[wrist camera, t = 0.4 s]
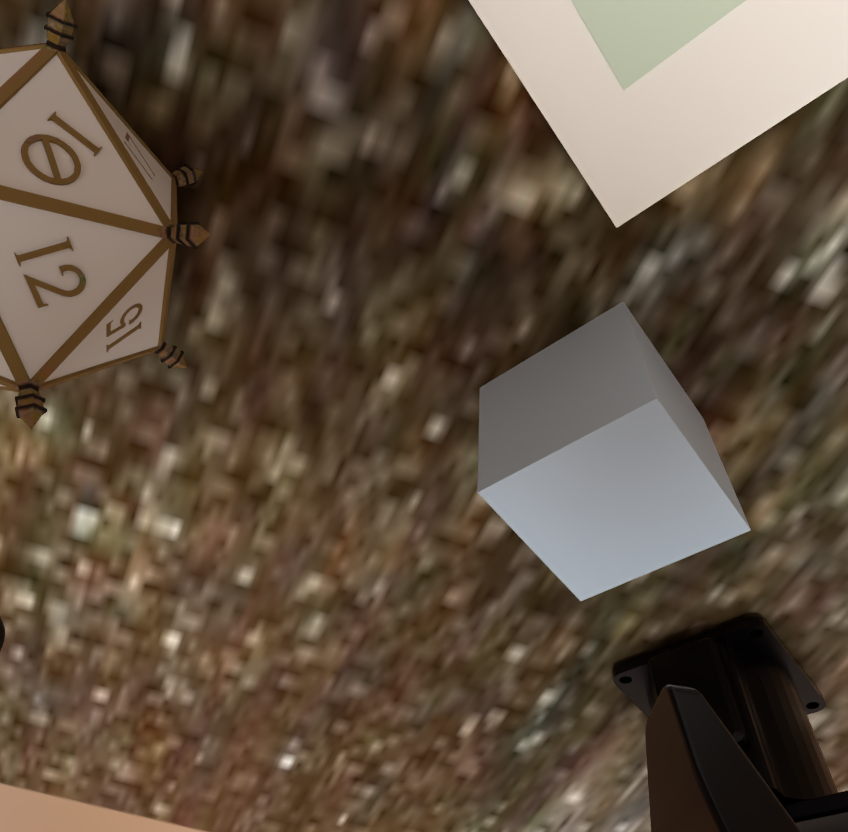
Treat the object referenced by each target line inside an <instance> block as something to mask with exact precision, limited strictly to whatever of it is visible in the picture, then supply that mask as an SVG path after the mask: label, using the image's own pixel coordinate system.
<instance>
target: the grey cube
mask: <svg viewBox="0 0 848 832" xmlns="http://www.w3.org/2000/svg"><path fill="white" fill-rule="evenodd" d="M478 494H479V495H480V496H481V497H482V498H483V499H484V500H485V501H486V502H487V503H488V504H489V505H490V506H491V507H492V508H493V509H494V510H495V512H496V513H497V514H498V515H499V516H500V517H501V518H502V519H503V520H504V521H505V522H506V523H507V524H508V525H509V526H510V527H511V528H512V529H513V530H514V532H515V533H516V534H517V535H518V536H519V537H520V538H521V539H522V540H523V541H524V542H525V543H526V544H527V545H528V546H529V547H530V548H531V549H532V551H533V552H534V553H535V554H536V555H537V556H538V557H539V558H540V559H541V560H542V561H543V562H544V563H545V564H546V565H547V566H548V567H549V568H550V569H551V571H552V572H553V573H554V574H555V575H556V576H557V577H558V578H559V579H560V580H561V581H562V582H563V583H564V584H565V585H566V586H567V587H568V588H569V590H570V591H571V592H572V593H573V594H574V595H575V596H576V597H577V598H578V599H579V600H580V601H583V600H585V599H587V598H590V597H592V596H595V595H597V594H599V593H602V592H604V591H607V590H609V589H611V588H614V587H616V586H619V585H621V584H623V583H626V582H628V581H631V580H633V579H635V578H638V577H640V576H642V575H645V574H647V573H650V572H652V571H654V570H657V569H659V568H662V567H664V566H666V565H669V564H671V563H674V562H676V561H678V560H681V559H683V558H686V557H688V556H690V555H693V554H695V553H698V552H700V551H702V550H705V549H707V548H710V547H712V546H714V545H717V544H719V543H722V542H724V541H726V540H729V539H731V538H734V537H736V536H738V535H741V534H743V533H746V532H748V531H750V530H751V529H750V527H749V524H748V522H747V520H746V517H745V515H744V513H743V510H742V508H741V506H740V503H739V501H738V499H737V496H736V494H735V492H734V489H733V487H732V485H731V482H730V480H729V478H728V475H727V473H726V471H725V468H724V466H723V464H722V461H721V459H720V456H719V454H718V452H717V449H716V447H715V445H714V442H713V440H712V438H711V435H710V433H709V431H708V428H707V426H706V424H705V421H704V419H703V417H702V416H701V414H700V413H699V412H698V410H697V409H696V407H695V406H694V404H693V403H692V401H691V400H690V398H689V397H688V395H687V394H686V393H685V391H684V390H683V388H682V387H681V385H680V384H679V382H678V381H677V379H676V378H675V376H674V375H673V374H672V372H671V371H670V369H669V368H668V366H667V365H666V363H665V362H664V360H663V359H662V357H661V356H660V355H659V353H658V352H657V350H656V349H655V347H654V346H653V344H652V343H651V341H650V340H649V338H648V337H647V336H646V334H645V333H644V331H643V330H642V328H641V327H640V325H639V324H638V322H637V321H636V319H635V318H634V317H633V315H632V314H631V312H630V311H629V309H628V308H627V306H626V305H625V303H624V302H621V303H620V304H618V305H616V306H615V307H613V308H611V309H610V310H608V311H606V312H605V313H603V314H601V315H600V316H598V317H596V318H595V319H593V320H591V321H590V322H588V323H586V324H585V325H583V326H581V327H580V328H578V329H576V330H575V331H573V332H571V333H570V334H568V335H566V336H565V337H563V338H561V339H560V340H558V341H556V342H555V343H553V344H551V345H550V346H548V347H546V348H545V349H543V350H541V351H540V352H538V353H537V354H535V355H533V356H532V357H530V358H528V359H527V360H525V361H523V362H522V363H520V364H518V365H517V366H515V367H513V368H512V369H510V370H508V371H507V372H505V373H503V374H502V375H500V376H498V377H497V378H495V379H493V380H492V381H490V382H488V383H487V384H485V385H483V386H482V387H480V400H479V448H478Z"/></svg>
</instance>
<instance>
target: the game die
mask: <svg viewBox="0 0 848 832" xmlns="http://www.w3.org/2000/svg"><path fill="white" fill-rule="evenodd" d="M46 16H47V17H48V24H47V25H45V26H44V29H46V30H47V39H48V40H47V43H41V44H33V45H25V46H18V47H10V48H2V49H0V389H1V390H8V391H16V392H19V395H18V396H17V397H15V401H16V406H17V407H15V411H16V416H17V418H21V419H22V420H23V421H24V422H25V423H26V424H27V425H28V426H29V427H30V428H31V429H32V428H33V427H34V425H35V424H36V423H37V421H38V420H39V418H40V417H41V415H43V414H44V413H46V412H47V409H46V408H44V407H43V403H44V402H45V399H44V398H42V397H41V396H40V394H39V392H38V391H39V390H42V389H45V388H48V387H51V386H54V385H57V384H60V383H63V382H66V381H69V380H72V379H75V378H78V377H81V376H84V375H87V374H90V373H93V372H96V371H99V370H102V369H105V368H108V367H111V366H114V365H117V364H120V363H123V362H126V361H129V360H132V359H135V358H138V357H141V356H144V355H147V354H150V353H153V352H155V353H158V355H159V356H160V357H161V362H162V363H163V362H165V363H166V364H168V368H169V369H170V368H171V367H177V368H187V366H186V363H185V359H184V356H183V354H184V352H183V351H179V350H177V349H176V348H177V347H176V346H170V345H168V344H166V343H165V342H164V341H165V333H166V325H167V317H168V309H169V300H170V292H171V284H172V276H173V268H174V260H175V252H176V244H177V243H178V244H181V245H182V246H183V247H184V248H187V247H188V246H192V247H193V248H194V249H197V248H198V246H199V245H200V243H202V242H203V241H204V240H205V239H207V238H208V237H209V236H210V235H211V234H210V233H209V232H207V231H206V230H205V229H204V228H202V227H201V226H200V224H199V222H188V223H177V186H181V187H182V188H184V187H187V186H189V185H190V186H192V185H194V184H197V183H198V182H197V180H198V178H199V177H200V175H201V173H202V172H203V171H201V170H198V169H195V168H192V167H190V166H189V165H187V164H184V167H182V168H180V167H176V171H174V172H173V173H170V172H169V171H168V170H167V169H166V167H165V166H164V165H163V164H162V163H161V162H160V160H159V159H158V158H157V157H156V156H155V155H154V153H153V152H152V151H151V150H150V149H149V148H148V147H147V145H146V144H145V143H144V142H143V141H142V140H141V138H140V137H139V136H138V135H137V134H136V133H135V131H134V130H133V129H132V128H131V127H130V126H129V125H128V123H127V122H126V121H125V120H124V119H123V118H122V116H121V115H120V114H119V113H118V112H117V111H116V109H115V108H114V107H113V106H112V105H111V104H110V102H109V101H108V100H107V99H106V98H105V97H104V96H103V94H102V93H101V92H100V91H99V90H98V89H97V87H96V86H95V85H94V84H93V83H92V82H91V80H90V79H89V78H88V77H87V76H86V75H85V73H84V72H83V71H82V70H81V69H80V68H79V67H78V65H77V64H76V63H75V62H74V61H73V60H72V58H71V57H70V56H69V55H68V54H67V53H66V48H65V47H66V45H67V44H68V42H69V41H70V39H71V40H74V37H73V36H72V33H73V29H74V28H77V27H78V26H77V25H76V24H74V21H73V18H72V15H71V12H70V10H69V7H68V4H67V1H66V0H63V1H62V2H61V3H60V4H59V5H58V6H57V7H56V8H55V9H54V10H53V11H52V12H48V13H46Z"/></svg>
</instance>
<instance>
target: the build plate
mask: <svg viewBox="0 0 848 832" xmlns="http://www.w3.org/2000/svg"><path fill="white" fill-rule="evenodd" d="M469 2H470V3H471V5H472V6H473V8H474V10H475V11H476V13H477V14H478V16H479V17H480V19H481V20H482V22H483V23H484V25H485V26H486V28H487V30H488V31H489V33H490V34H491V36H492V37H493V39H494V40H495V42H496V43H497V45H498V46H499V48H500V50H501V51H502V53H503V54H504V56H505V57H506V59H507V60H508V62H509V63H510V65H511V66H512V68H513V70H514V71H515V73H516V74H517V76H518V77H519V79H520V80H521V82H522V83H523V85H524V86H525V88H526V90H527V91H528V93H529V94H530V96H531V97H532V99H533V100H534V102H535V103H536V105H537V106H538V108H539V110H540V111H541V113H542V114H543V116H544V117H545V119H546V120H547V122H548V123H549V125H550V126H551V128H552V129H553V131H554V133H555V134H556V136H557V137H558V139H559V140H560V142H561V143H562V145H563V146H564V148H565V149H566V151H567V153H568V154H569V156H570V157H571V159H572V160H573V162H574V163H575V165H576V166H577V168H578V169H579V171H580V173H581V174H582V176H583V177H584V179H585V180H586V182H587V183H588V185H589V186H590V188H591V189H592V191H593V193H594V194H595V196H596V197H597V199H598V200H599V202H600V203H601V205H602V206H603V208H604V209H605V211H606V213H607V214H608V216H609V217H610V219H611V220H612V222H613V223H614V225H615V226H616V228H617V227H619V226H620V225H622V224H624V223H625V222H627V221H628V220H630V219H631V218H633V217H634V216H636V215H637V214H639V213H640V212H642V211H644V210H645V209H647V208H648V207H650V206H651V205H653V204H654V203H656V202H657V201H659V200H660V199H662V198H663V197H665V196H667V195H668V194H670V193H671V192H673V191H674V190H676V189H677V188H679V187H680V186H682V185H683V184H685V183H686V182H688V181H690V180H691V179H693V178H694V177H696V176H697V175H699V174H700V173H702V172H703V171H705V170H706V169H708V168H709V167H711V166H713V165H714V164H716V163H717V162H719V161H720V160H722V159H723V158H725V157H726V156H728V155H729V154H731V153H733V152H734V151H736V150H737V149H739V148H740V147H742V146H743V145H745V144H746V143H748V142H749V141H751V140H752V139H754V138H756V137H757V136H759V135H760V134H762V133H763V132H765V131H766V130H768V129H769V128H771V127H772V126H774V125H775V124H777V123H779V122H780V121H782V120H783V119H785V118H786V117H788V116H789V115H791V114H792V113H794V112H795V111H797V110H798V109H800V108H802V107H803V106H805V105H806V104H808V103H809V102H811V101H812V100H814V99H815V98H817V97H818V96H820V95H822V94H823V93H825V92H826V91H828V90H829V89H831V88H832V87H834V86H835V85H837V84H838V83H840V82H841V81H843V80H845V79H846V78H848V0H469Z"/></svg>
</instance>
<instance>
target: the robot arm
mask: <svg viewBox="0 0 848 832" xmlns="http://www.w3.org/2000/svg"><path fill="white" fill-rule="evenodd" d="M4 638H5V628H4V625H3V622H2V619H1V617H0V650H1V648H2V646H3V643H4ZM612 676H613V681H614V683H615V684H616V685H617V686H618V687H619V688H620V689H621V690H622V691H623V692H624V693H625V694H626V695H627V696H628V698H629V699H630V700H631V701H632V702H633V703H634V704H635V705H636V706H637V707H638V708H639V709H640V710H641V711H642V712H643V713H644V714H645V715H646V716H647V717H648V721H647V725H646V754H647V770H648V786H649V802H650V818H651V832H848V791H844V792H839V793H838V791H837V789H836V786H835V784H834V781H833V779H832V776H831V774H830V771H829V769H828V766H827V764H826V761H825V759H824V756H823V754H822V751H821V749H820V746H819V744H818V741H817V739H816V736H815V734H814V731H813V729H812V726H811V724H810V721H809V719H808V716H807V714H811V713H814V712H817V711H820V710H822V709H823V708H824V707H825V705H826V704H825V701H824V699H823V696H822V694H821V692H820V691H819V690H818V688H817V687H816V686H815V684H814V683H813V682H812V681H811V679H810V678H809V677H808V675H807V674H806V673H805V671H804V670H803V669H802V667H801V666H800V665H799V664H798V662H797V661H796V660H795V658H794V657H793V656H792V654H791V653H790V652H789V651H788V649H787V648H786V647H785V645H784V644H783V643H782V641H781V640H780V639H779V637H778V636H777V635H776V634H775V632H774V631H773V630H772V628H771V627H770V626H769V624H768V623H767V622H766V620H764V619H763V618H760V617H749V618H746V619H743V620H740V621H738V622H735V623H732V624H729V625H727V626H724V627H721V628H718V629H716V630H713V631H710V632H707V633H705V634H702V635H699V636H697V637H694V638H691V639H688V640H686V641H683V642H680V643H677V644H675V645H672V646H669V647H666V648H664V649H661V650H658V651H656V652H653V653H650V654H647V655H645V656H642V657H639V658H636V659H634V660H631V661H628V662H626V663H623V664H620V665H618V666H616V667H614V668H613V670H612Z"/></svg>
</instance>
